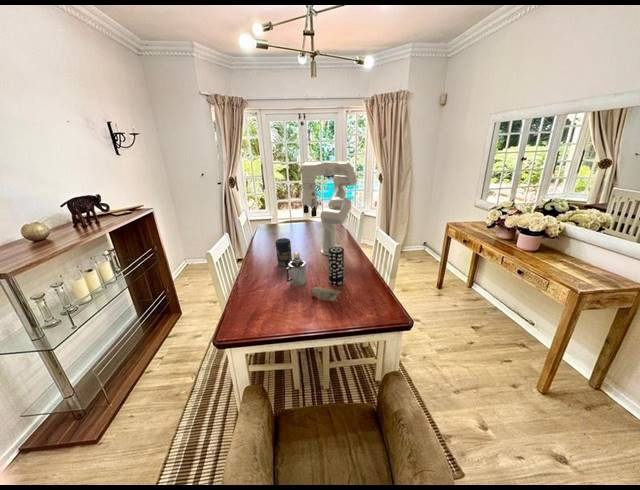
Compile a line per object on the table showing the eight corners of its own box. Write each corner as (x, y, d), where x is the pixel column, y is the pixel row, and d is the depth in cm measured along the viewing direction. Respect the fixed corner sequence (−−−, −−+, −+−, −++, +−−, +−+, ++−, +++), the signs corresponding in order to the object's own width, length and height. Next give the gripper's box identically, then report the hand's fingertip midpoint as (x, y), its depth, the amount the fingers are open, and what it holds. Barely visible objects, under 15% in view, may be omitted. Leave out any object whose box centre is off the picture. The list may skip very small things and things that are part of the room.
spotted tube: (345, 279, 144) (345, 247, 137) (341, 287, 137) (341, 253, 129) (331, 277, 147) (331, 246, 139) (327, 284, 139) (326, 252, 132)
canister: (289, 267, 160) (287, 241, 153) (275, 267, 162) (272, 241, 155) (294, 261, 169) (292, 236, 162) (280, 260, 170) (278, 235, 164)
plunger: (300, 275, 146) (298, 250, 140) (304, 279, 141) (303, 253, 135) (291, 277, 143) (289, 252, 137) (295, 282, 138) (294, 256, 133)
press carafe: (301, 276, 149) (300, 258, 144) (309, 283, 141) (308, 264, 137) (284, 282, 143) (282, 263, 139) (290, 289, 136) (289, 269, 132)
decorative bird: (315, 293, 132) (314, 281, 129) (342, 302, 124) (342, 289, 121) (309, 299, 128) (308, 286, 125) (337, 308, 120) (337, 294, 117)
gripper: (321, 187, 140) (322, 216, 146) (307, 183, 154) (308, 211, 160) (310, 188, 137) (311, 219, 143) (296, 185, 150) (298, 212, 157)
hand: (310, 214), depth 152 cm, fingers open, 9 cm apart
